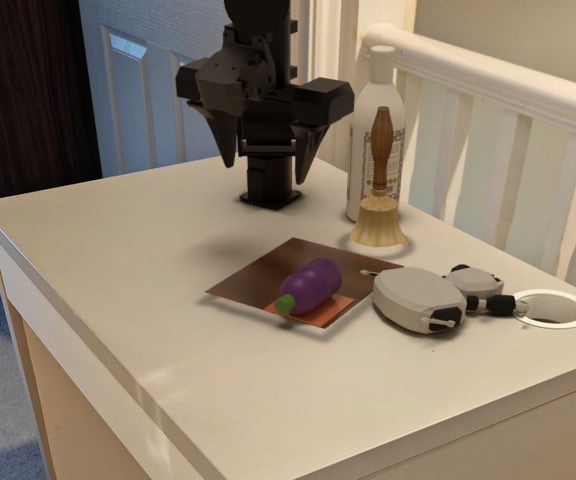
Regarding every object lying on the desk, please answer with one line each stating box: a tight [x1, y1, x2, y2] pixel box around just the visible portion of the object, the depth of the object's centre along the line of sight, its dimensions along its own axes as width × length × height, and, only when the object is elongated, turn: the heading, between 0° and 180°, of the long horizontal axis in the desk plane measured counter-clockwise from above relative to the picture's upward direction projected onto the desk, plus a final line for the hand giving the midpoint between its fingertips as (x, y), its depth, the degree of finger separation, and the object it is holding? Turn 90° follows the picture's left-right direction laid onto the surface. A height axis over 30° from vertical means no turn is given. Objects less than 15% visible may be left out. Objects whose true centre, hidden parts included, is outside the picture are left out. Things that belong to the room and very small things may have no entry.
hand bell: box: [348, 106, 410, 248], centre depth 98 cm, size 8×8×16 cm
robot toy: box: [360, 263, 530, 335], centre depth 88 cm, size 12×4×15 cm
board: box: [204, 236, 406, 330], centre depth 94 cm, size 18×16×1 cm
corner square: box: [264, 294, 355, 328], centre depth 88 cm, size 7×7×1 cm
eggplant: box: [275, 258, 342, 316], centre depth 86 cm, size 10×4×4 cm, turn 147°
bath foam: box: [345, 45, 407, 223], centre depth 104 cm, size 7×7×20 cm
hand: (264, 175), depth 90 cm, fingers open, 9 cm apart
